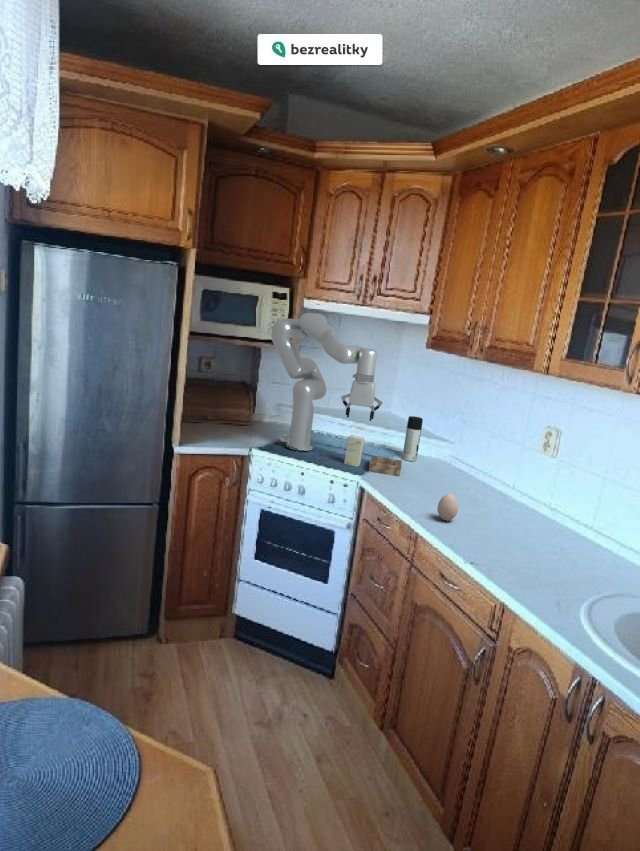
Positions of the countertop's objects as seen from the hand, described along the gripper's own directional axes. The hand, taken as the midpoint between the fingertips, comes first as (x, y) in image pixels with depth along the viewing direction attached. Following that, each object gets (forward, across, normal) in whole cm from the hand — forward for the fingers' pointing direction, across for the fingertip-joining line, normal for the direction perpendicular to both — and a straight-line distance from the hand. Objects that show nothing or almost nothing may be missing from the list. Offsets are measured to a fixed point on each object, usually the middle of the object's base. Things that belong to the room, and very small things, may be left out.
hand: (359, 418), depth 240 cm
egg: (+20, +37, -50) cm, 65 cm away
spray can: (+20, +24, +24) cm, 39 cm away
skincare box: (+20, 0, 0) cm, 20 cm away
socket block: (+20, +14, 0) cm, 24 cm away
